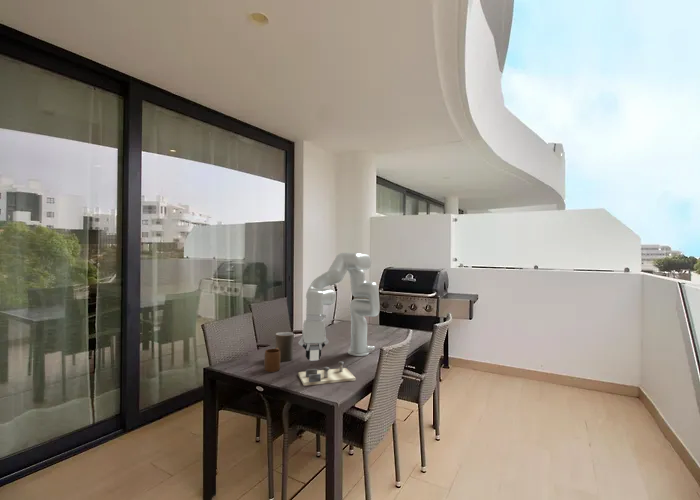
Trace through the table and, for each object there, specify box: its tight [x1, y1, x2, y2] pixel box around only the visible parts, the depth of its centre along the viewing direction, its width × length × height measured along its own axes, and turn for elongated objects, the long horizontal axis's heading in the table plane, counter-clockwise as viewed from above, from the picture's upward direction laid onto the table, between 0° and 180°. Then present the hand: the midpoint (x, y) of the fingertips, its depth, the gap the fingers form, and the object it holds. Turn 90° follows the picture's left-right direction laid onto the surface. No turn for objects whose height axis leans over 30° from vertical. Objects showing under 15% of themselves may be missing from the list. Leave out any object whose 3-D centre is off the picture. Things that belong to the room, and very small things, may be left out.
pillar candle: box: [274, 331, 294, 363], centre depth 186 cm, size 10×10×15 cm
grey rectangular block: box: [308, 343, 320, 362], centre depth 154 cm, size 4×4×6 cm
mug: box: [264, 348, 281, 373], centre depth 170 cm, size 12×8×9 cm, turn 173°
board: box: [297, 360, 357, 386], centre depth 160 cm, size 24×14×6 cm, turn 109°
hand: (313, 358), depth 154 cm, fingers closed on grey rectangular block, 4 cm apart
